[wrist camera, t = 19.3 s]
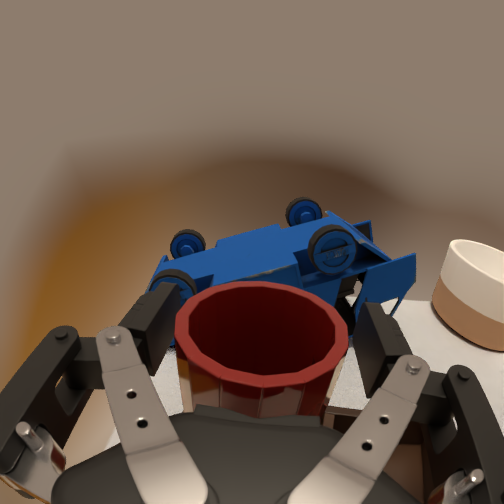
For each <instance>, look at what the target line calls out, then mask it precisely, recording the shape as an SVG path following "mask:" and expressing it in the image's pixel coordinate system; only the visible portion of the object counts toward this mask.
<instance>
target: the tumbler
mask: <svg viewBox="0 0 504 504" xmlns="http://www.w3.org/2000/svg"><path fill="white" fill-rule="evenodd" d="M174 340H175V350H176V358H177V367H178V374H179V382H180V389H181V396H182V403H183V409H184V413H185V412H194V410H195V407H196V404H201V405H207V406H213V407H220V408H227V409H229V410H232V411H235V412H238V413H241V414H244V415H247V416H250V417H253V418H269V417H277V416H285V415H303V416H320V423H321V420H322V418H323V416H324V413H325V411H326V408H327V406H328V403H329V401H330V398H331V395H332V393H333V390H334V388H335V385H336V382H337V379H338V377H339V374H340V371H341V368H342V365H343V362H344V360H345V357H346V354H347V351H348V347H349V340H348V327H347V324H346V323H345V321H344V320H343V319H342V317H341V316H340V315H339V313H338V312H337V310H336V309H335V308H334V307H333V306H331V305H330V304H328V303H327V302H325V301H324V300H322V299H321V298H319V297H318V296H316V295H314V294H312V293H310V292H307V291H304V290H301V289H299V288H296V287H293V286H289V285H285V284H278V283H272V282H266V281H263V282H262V281H236V282H231V283H226V284H222V285H217V286H213V287H210V288H207V289H205V290H203V291H202V292H200V293H198V294H196V295H194V296H192V297H190V298H189V299H188V300H187V301H186V302H185V304H184V305H183V306H182V307H181V309H180V310H179V311H178V312H177V314H176V316H175V328H174Z"/></svg>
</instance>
